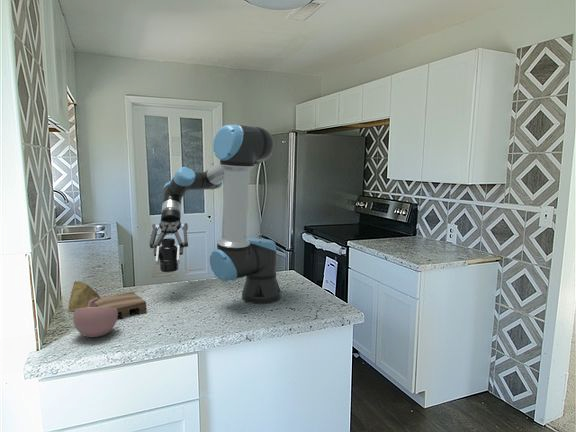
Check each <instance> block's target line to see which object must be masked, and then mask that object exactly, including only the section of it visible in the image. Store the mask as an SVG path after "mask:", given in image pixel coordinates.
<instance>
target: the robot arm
mask: <svg viewBox="0 0 576 432" xmlns="http://www.w3.org/2000/svg"><path fill="white" fill-rule="evenodd" d="M212 145H213V146H212V147H213V149H212V150H213V152H214V155H215V157H216V158H217V159H218V160H219V162H218V163H216V164H215V165H213V166H211V167H210V168H209V169H207V170H205V171H194V170H193V169H192V168H190V167H189V168H188V167H187V166H181V167H179V168H178V170H177V171H176V172H175V173H174V175H173V177H172V178H171V180H169V181H168V182H166V183H165V184H164V187H163V190H162V204H161V205H162V206H161V214H160V215H161V217H160V222H159V224H153V223H152V225H151V227H152V232H151V235H150V239H149V249H153V255H154V257H155V263H156V265H159V266H160V259H159V248H160V247H161V245H162V239H165V237H166V236H167V234H168V235H169V234H174V236H175V238H176V241H177V243H178V245H177V263H178V265H179V264H180V261H181V256H182V255H184V248H188V247H189V242H188V241H189V240H188V239H189V238H188V228H189V226H188V223H187V222H185V223H182V222H181V214H182V200H183V198H184V196H185V195H186V193H187V192H189V191H201V190H202V191H203V190H216V189H220V188H222V187H221V186H222V185H223V196H222V197H223V199H222V202H223V203H222V219H221V222H222V225H221V227H222V228H221V237H220V238H219V240H217V243H216V249H213V250H212V251H211V253H210V255H209V265H210V269H211V271H212V272H213V274H214V276H215V277H216V278H217V279H218V280H220V281H222V282H229V281H235V280H238V279H241V278H245V281H244V285H243V288H242V291H241V299H242V300H243V301H244V302H246V303H249V304H258V305H259V304H264V305H265V304H271V303H274V302H277V301H279V300H280V299H281V296H282V294H281V293H282V292H281V291H282V290H281V287H280V284H279V282H278V279H277V249H276V248H277V245H276V242H275V241H274V240H271V239H267V238H257V237H256V238H255V237H253V238H252V237H250V238H247V229H248V228H247V227H248V226H247V225H248V224H247V223H248V209H249V207H248V204H249V187H250V171H251V170H253V169H254V168H255V166H257V165H260V164H261V163H263V162H265V161H266V160H268V159H269V158H270V157H271V156H272V154H273V153H274V149H275V141H274V138H273V136H272V134H271V133H270V132H269V130H267V129H265V128H264V127H262V126H261V127H260V126H249V125H242V124H241V125H239V124H226V125H223V126H221V127H220V128H219V130H218V131H217V132H216V134H215V135H214V138H213V144H212ZM159 229H161V230H160V233H159V235H158V236H157V234H158V232H157V231H159ZM180 229H182V231H183V241H182V238H181V236H180V233H179V230H180ZM156 238H157V239H156Z"/></svg>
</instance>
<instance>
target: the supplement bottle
mask: <svg viewBox="0 0 576 432" xmlns="http://www.w3.org/2000/svg"><path fill="white" fill-rule="evenodd" d="M177 246H178V245H177ZM177 246H176V240H175V238H172V237H171V238H170V237H169V238H164V239H162V242H161V245H160V246H159V247H160V248H159V271H161V272H162V273H171V272H172V273H173V272H176V271H178V270H179V264H178V263H177Z"/></svg>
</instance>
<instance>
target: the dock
mask: <svg viewBox="0 0 576 432" xmlns="http://www.w3.org/2000/svg"><path fill="white" fill-rule="evenodd" d="M93 307H109V308H115V309H117V310H118V317H120V318H121V319H126V318H130V310H134V311H135V312H136V313H138V314H139V315H142V314H146V313H147V310H148V309H147V301H146V300H145V299H143V298H142V297H141V296H139V295H138V294H136V293H135V291H130V292H125V293H120V294H116V295H115V294H114V295H111V296H110V295H109V296H105V297H102V298H101V297H100V299H98V300H97V301H96V302H94V303H93Z"/></svg>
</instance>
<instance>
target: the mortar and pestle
mask: <svg viewBox="0 0 576 432" xmlns="http://www.w3.org/2000/svg"><path fill="white" fill-rule="evenodd" d="M97 300H98V297H96V298H94V299H93V300H90V301H89V303H88V307H85V308H78V309H76V310H75V311H73V317H72V321H73V325H74V327H75V329H76V331H77V332H78V333H79V334H81V335H82V336H84V337H88V338H98V337H102V336H104V335H106V334H109V332H110V331H111V330H112V329H113V328H114V327H115V325H116V324H117V321H118V317H119V315H118V310H117V309H115V308H109V307H92V304H93V303H94V302H96V301H97Z"/></svg>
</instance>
